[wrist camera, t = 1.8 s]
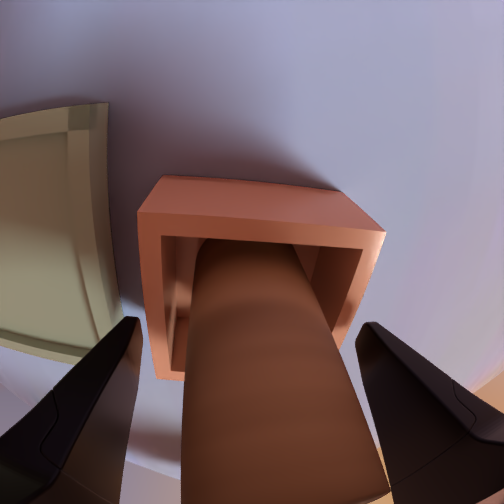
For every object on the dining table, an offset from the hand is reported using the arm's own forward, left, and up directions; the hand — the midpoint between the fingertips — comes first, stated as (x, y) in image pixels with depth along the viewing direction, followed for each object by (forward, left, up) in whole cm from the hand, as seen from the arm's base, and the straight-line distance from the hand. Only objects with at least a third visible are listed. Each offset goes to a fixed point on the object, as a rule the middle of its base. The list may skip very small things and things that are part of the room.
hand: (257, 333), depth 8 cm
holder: (0, 0, -4) cm, 4 cm away
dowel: (0, 0, -4) cm, 4 cm away
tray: (0, +11, -4) cm, 11 cm away
